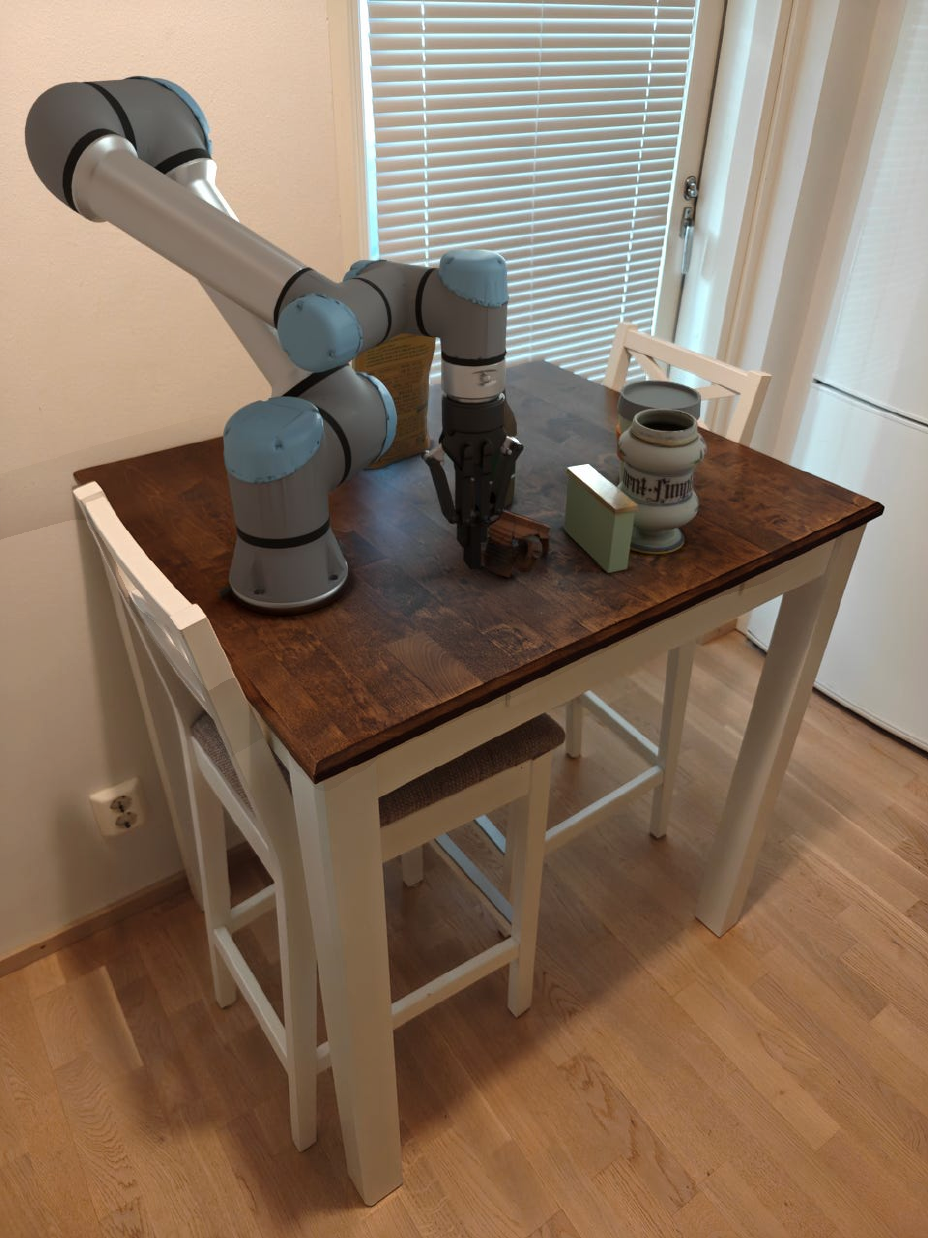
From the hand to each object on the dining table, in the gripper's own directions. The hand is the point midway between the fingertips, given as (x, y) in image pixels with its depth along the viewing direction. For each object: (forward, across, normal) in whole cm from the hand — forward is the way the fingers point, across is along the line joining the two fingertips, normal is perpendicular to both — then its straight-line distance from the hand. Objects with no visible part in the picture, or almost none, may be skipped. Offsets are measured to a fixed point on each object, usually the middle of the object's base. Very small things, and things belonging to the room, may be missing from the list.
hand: (471, 564), depth 118 cm
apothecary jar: (+2, +28, +1) cm, 28 cm away
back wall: (+2, +19, +1) cm, 19 cm away
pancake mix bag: (+2, +2, +39) cm, 40 cm away
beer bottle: (+2, +11, +20) cm, 22 cm away
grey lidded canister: (+2, +37, +16) cm, 40 cm away
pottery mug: (+2, +7, 0) cm, 7 cm away
